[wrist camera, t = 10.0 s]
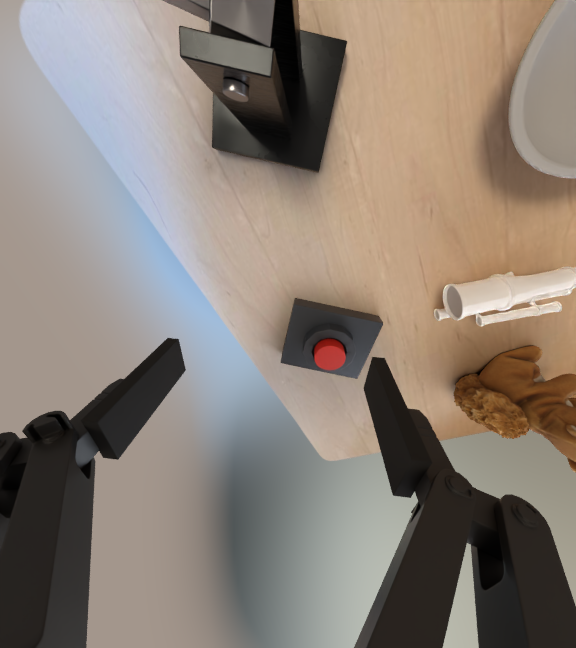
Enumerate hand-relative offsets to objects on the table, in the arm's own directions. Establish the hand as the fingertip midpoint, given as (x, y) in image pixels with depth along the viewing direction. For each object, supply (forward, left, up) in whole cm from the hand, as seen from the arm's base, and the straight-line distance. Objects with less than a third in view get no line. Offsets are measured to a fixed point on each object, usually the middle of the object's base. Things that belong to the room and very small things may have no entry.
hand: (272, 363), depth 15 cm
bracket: (-5, +17, -17) cm, 24 cm away
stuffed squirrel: (+33, -8, -17) cm, 38 cm away
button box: (+7, -7, -17) cm, 19 cm away
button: (+7, -7, -13) cm, 16 cm away
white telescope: (+25, +5, -17) cm, 31 cm away
